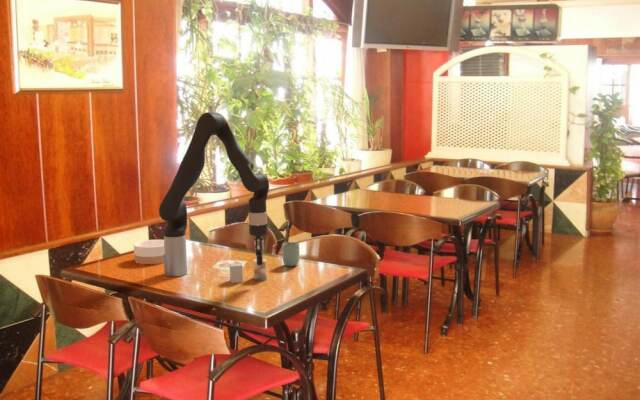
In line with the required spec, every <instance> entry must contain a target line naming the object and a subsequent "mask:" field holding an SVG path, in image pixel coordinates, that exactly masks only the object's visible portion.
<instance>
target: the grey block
mask: <svg viewBox="0 0 640 400" xmlns="http://www.w3.org/2000/svg"><path fill="white" fill-rule="evenodd" d="M243 277H244V275H243V264H241V263H240V262H239V263H237V262H236V263H230V264H229V281H230V283H232V284H236V283H238V284H239V283H244V282H243V281H244V279H243Z"/></svg>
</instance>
